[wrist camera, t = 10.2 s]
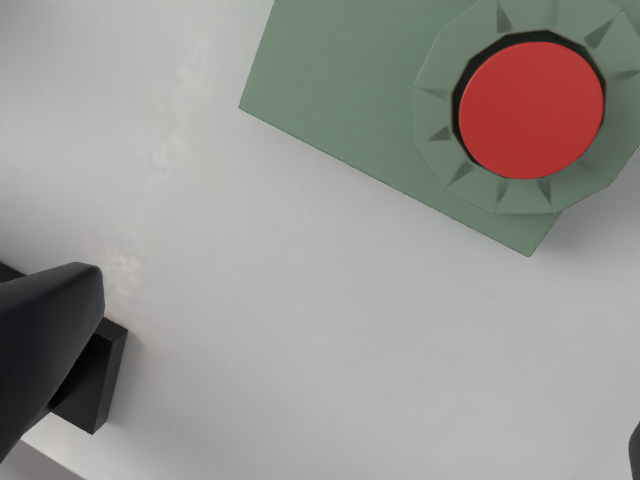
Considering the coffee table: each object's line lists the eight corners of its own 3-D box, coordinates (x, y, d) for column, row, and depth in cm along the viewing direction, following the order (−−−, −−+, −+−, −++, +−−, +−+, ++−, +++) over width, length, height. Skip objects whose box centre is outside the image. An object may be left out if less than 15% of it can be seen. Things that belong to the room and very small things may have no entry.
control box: (696, 7, 16) (746, -3, 13) (532, 245, 20) (540, 283, 17) (344, -149, 17) (313, -191, 14) (255, 103, 21) (214, 113, 18)
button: (619, 75, 15) (635, 78, 13) (545, 187, 16) (551, 201, 15) (501, 20, 15) (502, 17, 13) (440, 134, 16) (435, 143, 15)
